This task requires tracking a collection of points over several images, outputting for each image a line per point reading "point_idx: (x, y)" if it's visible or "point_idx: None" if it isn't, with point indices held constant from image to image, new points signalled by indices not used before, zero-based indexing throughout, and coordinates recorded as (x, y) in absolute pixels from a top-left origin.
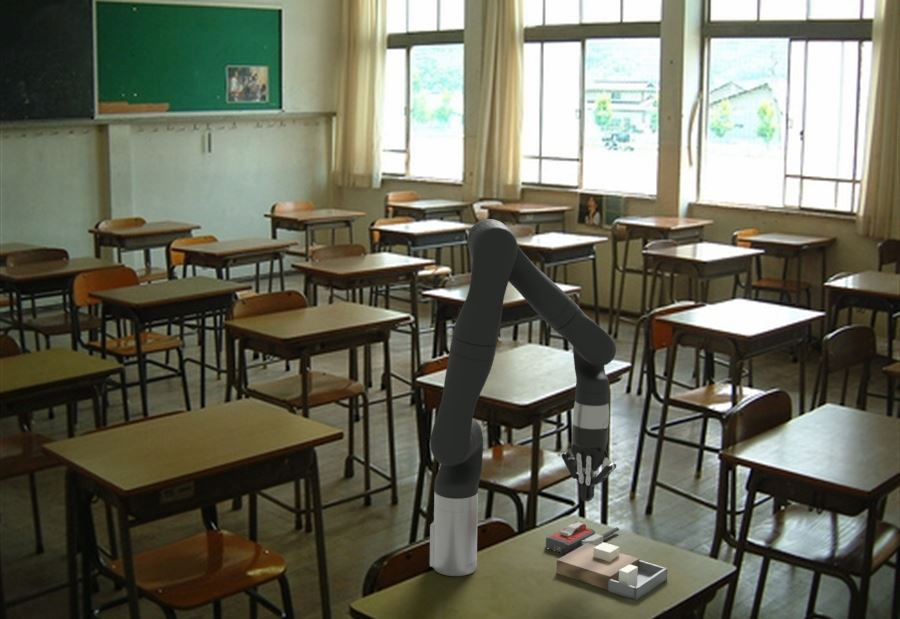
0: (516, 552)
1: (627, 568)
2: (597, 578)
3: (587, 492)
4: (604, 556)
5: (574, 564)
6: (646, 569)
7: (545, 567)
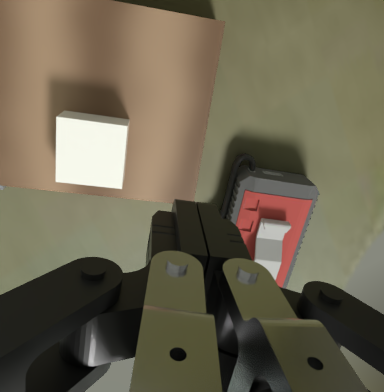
0: (372, 105)
1: None
2: None
3: (177, 231)
4: (83, 116)
5: (154, 16)
6: None
7: (262, 48)
